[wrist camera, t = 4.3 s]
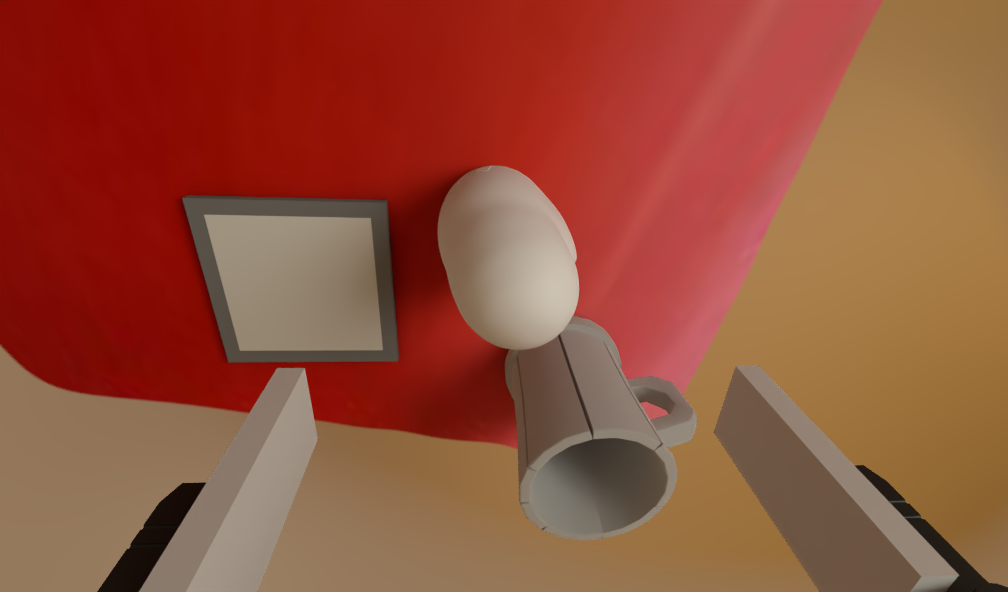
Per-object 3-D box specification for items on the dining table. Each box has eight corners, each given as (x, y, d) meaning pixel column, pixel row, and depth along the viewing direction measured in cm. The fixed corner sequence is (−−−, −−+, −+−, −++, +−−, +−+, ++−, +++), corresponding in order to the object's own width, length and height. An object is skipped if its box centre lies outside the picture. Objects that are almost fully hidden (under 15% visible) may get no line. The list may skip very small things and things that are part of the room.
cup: (580, 274, 32) (635, 380, 22) (657, 345, 36) (736, 468, 25) (479, 365, 35) (484, 497, 25) (558, 423, 39) (592, 562, 28)
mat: (187, 195, 28) (182, 198, 28) (387, 200, 29) (385, 202, 28) (232, 357, 34) (228, 362, 33) (398, 356, 35) (397, 361, 34)
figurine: (488, 288, 32) (498, 401, 22) (417, 204, 29) (387, 288, 19) (572, 229, 31) (627, 320, 20) (506, 134, 28) (530, 183, 17)
